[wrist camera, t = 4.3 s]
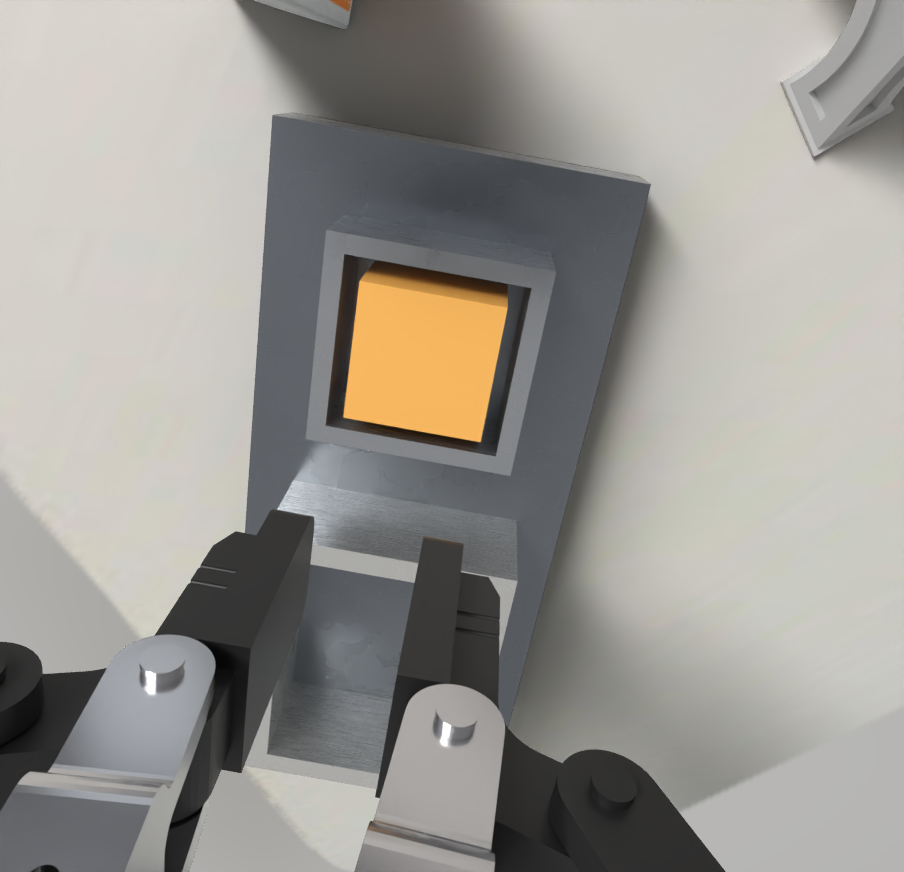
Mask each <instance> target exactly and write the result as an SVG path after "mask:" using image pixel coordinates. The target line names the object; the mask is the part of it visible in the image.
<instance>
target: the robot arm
mask: <svg viewBox="0 0 904 872" xmlns="http://www.w3.org/2000/svg"><path fill="white" fill-rule="evenodd" d="M313 535H314V517H313V516H308V515H303V514H297V513H292V512H286V511H280V510H275V509H272V510H271V511H270V512H269V514H268V516H267V517H266V519H265V521H264V523H263V524H262V526H261V528H260V530H259V531H258V533H257V535H252V534H247V533H241V532H234V533H233V534H231V535H229V536H228V537H226V538H225V539H223V540H221V541H220V542H218V543H217V544H215V545H213V547H212V548H211V550H210V551H209V553H208V554H207V556H206V557H205V559H204V560H203V562H202V564H201V567H200V568H198V570H197V571H196V573H195V574H194V576H193V577H192V579H191V583H190V584H188V585H187V587H186V588H185V590H184V591H183V593H182V594H181V596H180V597H179V599H178V601H177V602H176V604H175V605H174V607H173V608H172V610H171V611H170V613H169V614H168V616H167V617H166V619H165V621H164V622H163V624H162V625H161V627H160V628H159V630H158V631H157V633H156V634H155V636H151V637H147V638H143V639H140V640H138V641H135V642H133V643H131V644H130V645H128V646H126V647H125V648H123V649H122V650H121V651H119V652H118V653H117V654H116V655H115V656H114V658H113V659H112V661H111V662H110V664H109V665H108V667H107V668H104V669H100V670H94V671H86V672H71V673H55V674H43V673H42V664H41V661H40V659H39V657H38V656H37V655H36V654H35V653H34V652H33V651H32V650H30V649H28V648H27V647H24V646H22V645H18V644H14V643H7V642H0V872H189V871H190V868H191V865H192V861H193V858H194V855H195V852H196V849H197V845H198V842H199V839H200V836H201V833H202V830H203V826H204V823H205V820H206V817H207V812H208V807H209V806H208V805H209V796H210V795H211V793H212V790H213V788H214V785H215V783H216V781H217V779H218V776H219V774H220V771H221V770H227V771H233V772H238V773H242V770H243V767H244V765H245V762H246V760H247V757H248V755H249V752H250V750H251V747H252V745H253V742H254V739H255V737H256V734H257V732H258V729H259V727H260V724H261V722H262V719H263V717H264V714H265V711H266V709H267V706H268V704H269V701H270V699H271V696H272V694H273V691H274V689H275V686H276V683H277V681H278V678H279V676H280V673H281V671H282V668H283V666H284V663H285V660H286V658H287V655H288V653H289V650H290V648H291V645H292V643H293V640H294V638H295V635H296V632H297V630H298V627H299V625H300V622H301V618H302V615H303V611H304V607H305V602H306V597H307V590H308V581H309V572H310V563H311V553H312V544H313ZM463 547H464V544H463V543H458V542H452V541H446V540H441V539H435V538H430V537H424V536H423V541H422V547H421V552H420V557H419V562H418V567H417V573H416V578H415V583H414V588H413V593H412V598H411V604H410V609H409V614H408V619H407V624H406V630H405V635H404V640H403V645H402V650H401V655H400V661H399V666H398V671H397V676H396V682H395V688H394V693H393V699H392V705H391V711H390V716H389V722H388V728H387V733H386V739H385V745H384V750H383V756H382V762H381V767H380V773H379V779H378V785H377V790H376V796H375V797H377V798H380V800H379V803H378V807H377V810H376V814H375V817H374V820H373V822H372V821H370V823H369V825H368V828H367V831H366V834H365V837H364V841H363V844H362V847H361V851H360V854H359V858H358V861H357V864H356V868H355V871H354V872H725V871H724V869H723V868H722V867H721V865H720V864H719V863H718V862H717V860H716V859H715V858H714V857H713V855H712V854H711V853H710V852H709V850H708V849H707V848H706V846H705V845H704V844H703V842H702V841H701V840H700V839H699V837H698V836H697V835H696V834H695V833H694V831H693V830H692V828H691V827H690V826H689V825H688V824H687V822H686V821H685V820H684V818H683V817H682V816H681V814H680V813H679V812H678V811H677V809H676V808H675V807H674V806H673V804H672V803H671V802H670V800H669V799H668V798H667V797H666V795H665V794H664V793H663V792H662V790H661V789H660V788H659V786H658V785H657V784H656V783H655V781H654V780H653V779H652V778H651V777H650V776H649V774H648V773H647V772H646V771H644V770H643V769H642V768H641V767H640V766H638V765H637V764H636V763H634V762H633V761H631V760H629V759H627V758H625V757H624V756H621V755H619V754H616V753H613V752H609V751H604V750H585V751H580V752H577V753H575V754H573V755H571V756H570V757H568V758H567V759H566V760H565V761H564V762H563V764H562V763H560V762H558V761H556V760H553V759H551V758H549V757H547V756H545V755H543V754H540V753H538V752H537V751H535V750H533V749H531V748H529V747H528V746H526V745H525V744H523V743H522V742H521V741H520V740H519V739H517V738H516V737H515V736H514V735H513V734H512V732H511V731H510V730H509V729H508V727H507V726H506V725H505V723H504V719H503V717H502V715H501V712H500V711H499V704H498V692H499V635H500V622H499V620H500V596H499V594H498V592H497V591H496V589H495V587H494V585H493V584H492V582H491V580H490V579H489V577H485V576H480V575H474V574H469V573H463V572H461V567H462V557H463Z"/></svg>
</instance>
